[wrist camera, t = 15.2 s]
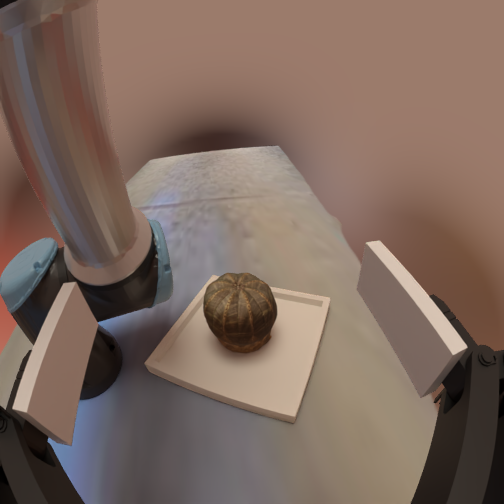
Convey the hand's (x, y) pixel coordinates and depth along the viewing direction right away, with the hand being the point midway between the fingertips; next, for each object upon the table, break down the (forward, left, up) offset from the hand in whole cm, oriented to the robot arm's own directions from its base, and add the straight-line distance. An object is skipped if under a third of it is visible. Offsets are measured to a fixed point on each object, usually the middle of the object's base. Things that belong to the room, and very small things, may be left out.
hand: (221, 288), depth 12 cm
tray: (-9, +19, -29) cm, 36 cm away
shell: (-9, +19, -29) cm, 35 cm away
